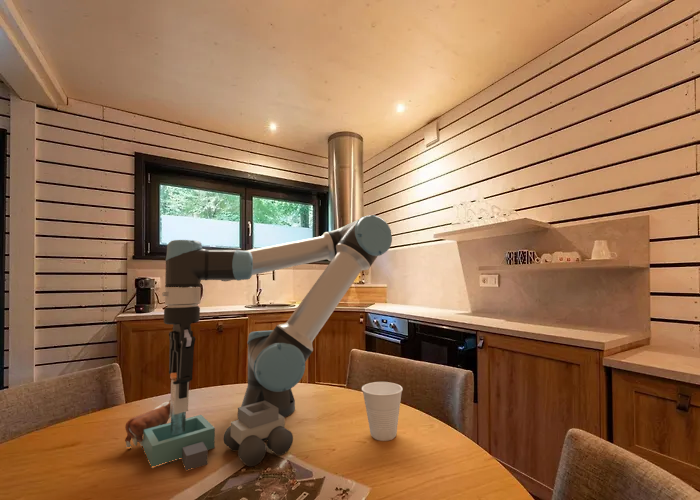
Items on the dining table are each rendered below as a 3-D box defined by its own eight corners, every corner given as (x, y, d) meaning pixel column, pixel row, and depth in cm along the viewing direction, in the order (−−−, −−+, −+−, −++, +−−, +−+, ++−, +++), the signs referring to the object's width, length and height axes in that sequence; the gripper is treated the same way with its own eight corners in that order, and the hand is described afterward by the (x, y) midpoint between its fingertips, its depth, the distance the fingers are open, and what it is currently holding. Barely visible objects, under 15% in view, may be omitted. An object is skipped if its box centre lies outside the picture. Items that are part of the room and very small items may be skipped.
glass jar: (166, 431, 75) (168, 372, 76) (184, 426, 77) (186, 369, 79) (170, 437, 72) (172, 375, 73) (189, 431, 74) (191, 372, 76)
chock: (182, 462, 69) (182, 447, 69) (202, 456, 71) (202, 441, 72) (185, 472, 65) (186, 456, 66) (207, 465, 68) (207, 449, 68)
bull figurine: (184, 430, 84) (185, 397, 85) (129, 455, 72) (130, 416, 73) (173, 427, 86) (174, 395, 87) (117, 451, 74) (119, 413, 75)
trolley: (242, 470, 65) (243, 422, 66) (223, 450, 73) (223, 407, 74) (292, 450, 73) (292, 407, 73) (270, 433, 81) (270, 395, 82)
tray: (142, 449, 74) (143, 429, 75) (200, 432, 82) (201, 414, 83) (151, 468, 66) (152, 446, 67) (214, 447, 74) (214, 427, 75)
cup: (403, 447, 73) (401, 395, 74) (359, 444, 75) (358, 393, 76) (405, 427, 82) (403, 382, 84) (366, 425, 84) (365, 381, 86)
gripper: (157, 305, 81) (153, 404, 79) (172, 308, 69) (168, 425, 67) (190, 303, 86) (187, 397, 84) (210, 306, 74) (207, 415, 72)
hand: (179, 409), depth 75 cm, fingers closed on glass jar, 3 cm apart
